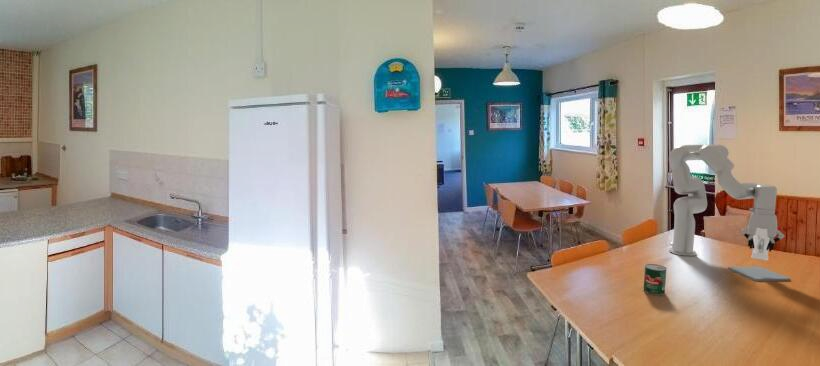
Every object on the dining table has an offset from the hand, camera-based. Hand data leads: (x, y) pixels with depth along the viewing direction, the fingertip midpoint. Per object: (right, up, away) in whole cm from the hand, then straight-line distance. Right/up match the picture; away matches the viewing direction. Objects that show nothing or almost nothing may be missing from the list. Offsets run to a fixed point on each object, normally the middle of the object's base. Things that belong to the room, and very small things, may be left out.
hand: (760, 249), depth 189 cm
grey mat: (0, -12, +2) cm, 12 cm away
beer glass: (0, -5, +1) cm, 5 cm away
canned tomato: (-60, -16, -16) cm, 64 cm away
